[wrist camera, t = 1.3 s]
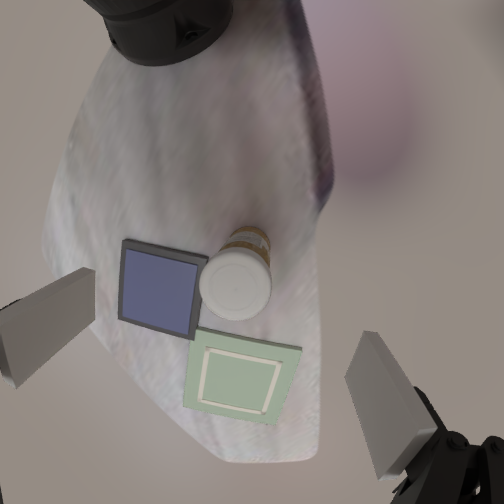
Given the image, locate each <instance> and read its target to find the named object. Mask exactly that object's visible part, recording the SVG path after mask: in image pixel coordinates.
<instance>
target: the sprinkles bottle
mask: <svg viewBox="0 0 504 504" xmlns="http://www.w3.org/2000/svg"><path fill="white" fill-rule="evenodd" d="M199 289H200V294H201V297H202V300H203V302H204V303H205V305H206V306H207V307H208V309H209V310H210V311H211V312H213V313H214V314H215V315H217V316H219V317H221V318H223V319H226V320H231V321H242V320H247V319H250V318H252V317H254V316H256V315H257V314H259V313H260V312H261V311H262V310H263V309H264V308H265V306H266V305H267V303H268V301H269V299H270V296H271V290H272V278H271V272H270V242H269V240H268V238H267V236H266V235H265V234H264V233H263V232H262V231H261V230H259V229H257V228H254V227H243V228H240V229H238V230H237V231H235V232H234V233H233V234H232V235H231V237H230V239H229V240H228V241H227V242H226V243H225V244H224V246H223V247H222V248H221V249H220V251H219V252H218V253H217V254H215V255H214V256H213V257H212V258H211V259H210V260H209V261H208V263H207V264H206V266H205V267H204V269H203V271H202V273H201V276H200V281H199Z"/></svg>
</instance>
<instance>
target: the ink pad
mask: <svg viewBox="0 0 504 504" xmlns="http://www.w3.org/2000/svg"><path fill="white" fill-rule="evenodd" d="M208 258H209V257H205V256H201V255H196V254H192V253H187V252H183V251H178V250H174V249H169V248H165V247H160V246H156V245H152V244H147V243H143V242H138V241H134V240H130V239H124V240H122V249H121V261H120V275H119V295H118V319H119V320H122V321H126V322H129V323H132V324H135V325H138V326H142V327H145V328H148V329H152V330H155V331H159V332H162V333H166V334H169V335H173V336H177V337H181V338H184V339H188V340H192V341H194V340H195V333H196V329H197V327H198V320H199V314H200V307H201V301H202V297H201V294H200V289H199V281H200V276H201V273H202V271H203V269H204V267H205V266H206V264H207V263H208Z"/></svg>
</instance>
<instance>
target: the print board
mask: <svg viewBox="0 0 504 504" xmlns="http://www.w3.org/2000/svg"><path fill="white" fill-rule="evenodd" d="M301 354H302V348H301V347H295V346H289V345H284V344H278V343H273V342H267V341H262V340H257V339H252V338H247V337H242V336H238V335H233V334H228V333H224V332H220V331H215V330H211V329H207V328H202V327H197V329H196V333H195V340H194V341H192V340H190V347H189V354H188V363H187V371H186V380H185V389H184V398H183V407H187V408H190V409H194V410H198V411H202V412H207V413H211V414H215V415H220V416H225V417H230V418H235V419H240V420H245V421H251V422H257V423H264V424H270V425H276V422H277V420H278V417H279V415H280V412H281V409H282V407H283V404H284V402H285V399H286V396H287V394H288V391H289V388H290V385H291V383H292V380H293V377H294V374H295V371H296V368H297V366H298V363H299V360H300V357H301Z"/></svg>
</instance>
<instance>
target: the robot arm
mask: <svg viewBox="0 0 504 504" xmlns="http://www.w3.org/2000/svg"><path fill="white" fill-rule="evenodd" d="M84 1H85V2H86V3H87V4H88V5H90V6H91V7H92V8H93V9H95V10H96V11H97V12H98V13H99V14H100V15H101V16H102V17H103V19H104V22H105V25H106V28H107V30H108V33H109V37H110V40H111V42H112V44H113V46H114V47H115V49H116V50H117V51H118V52H119V53H121V54H122V55H123V56H124V57H125V58H127V59H128V60H130V61H132V62H134V63H136V64H140V65H145V66H162V65H168V64H173V63H176V62H179V61H182V60H185V59H187V58H190V57H192V56H194V55H196V54H198V53H199V52H201V51H203V50H204V49H205V48H207V47H208V46H210V45H211V44H212V43H213V42H214V41H215V40H216V39H218V37H219V36H220V35H221V34H222V33H223V32H224V30H225V29H226V27H227V26H228V24H229V22H230V19H231V16H232V11H233V4H232V0H84ZM94 320H95V270H92V269H88V268H85V267H82V268H80V269H78V270H76V271H74V272H72V273H70V274H68V275H66V276H64V277H63V278H61V279H59V280H57V281H55V282H53V283H51V284H49V285H47V286H45V287H43V288H41V289H40V290H38V291H36V292H34V293H32V294H30V295H28V296H26V297H25V298H22V299H19V300H16V301H14V302H12V303H10V304H9V306H8V305H7V306H5V307H3V308H2V309H0V370H1V373H2V376H3V380H4V381H5V382H6V383H8V384H9V385H11V386H12V387H14V388H15V389H17V388H18V387H19V386H20V385H21V384H23V383H24V382H25V381H26V380H27V379H28V378H29V377H30V376H31V375H32V374H33V373H35V372H36V371H37V370H38V369H39V368H40V367H41V366H42V365H43V364H45V363H46V362H47V361H48V360H49V359H50V358H51V357H52V356H54V355H55V354H56V353H57V352H58V351H59V350H60V349H62V348H63V347H64V346H65V345H66V344H67V343H68V342H70V341H71V340H72V339H73V338H74V337H75V336H77V335H78V334H79V333H80V332H81V331H82V330H83V329H85V328H86V327H87V326H88V325H90V324H91V323H92V322H93V321H94ZM345 379H346V383H347V385H348V388H349V391H350V394H351V397H352V400H353V403H354V406H355V409H356V412H357V415H358V418H359V421H360V424H361V427H362V430H363V433H364V436H365V439H366V442H367V446H368V449H369V452H370V455H371V458H372V462H373V465H374V468H375V471H376V475H377V478H378V480H379V481H380V480H388V479H396V478H397V477H398V476H399V475H400V474H401V473H402V472H403V470H404V469H405V470H406V473H407V475H408V476H407V477H406V478H405V479H404V480H403V482H402V483H401V484H399V486H398V487H397V488H396V489H395V490H394V491H393V492H392V493H395V492H396V491H397V490H398V491H397V493H396V495H395V496H394V498H393V500H392V502H391V503H390V504H504V440H503V439H502V438H500V437H497V436H489V437H488V438H486V440H485V441H484V442H483V444H482V445H481V446H479V445H470V444H469V442H468V440H467V439H466V438H465V437H464V436H463V435H462V434H460V433H458V432H454V431H448V430H447V429H446V427H445V425H444V424H443V422H442V421H441V419H440V417H439V416H438V414H437V413H436V411H435V410H434V408H433V406H432V404H430V401H429V400H428V398H427V397H426V395H425V394H424V393H423V392H422V391H421V390H420V389H419V388H417V387H413V386H412V384H411V383H410V381H409V380H408V378H407V377H406V375H405V373H404V372H403V370H402V369H401V367H400V366H399V364H398V362H397V361H396V360H395V358H394V357H393V355H392V354H391V352H390V350H389V349H388V347H387V346H386V344H385V343H384V341H383V340H382V338H381V337H380V335H379V334H378V333H377V332H370V331H364V332H363V334H362V337H361V339H360V342H359V344H358V347H357V349H356V352H355V354H354V356H353V359H352V361H351V363H350V366H349V368H348V370H347V373H346V375H345ZM479 486H480V492H479V493H478V494H477V495H476V489H477V488H478V487H479ZM0 504H3V499H2V493H1V488H0Z"/></svg>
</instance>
